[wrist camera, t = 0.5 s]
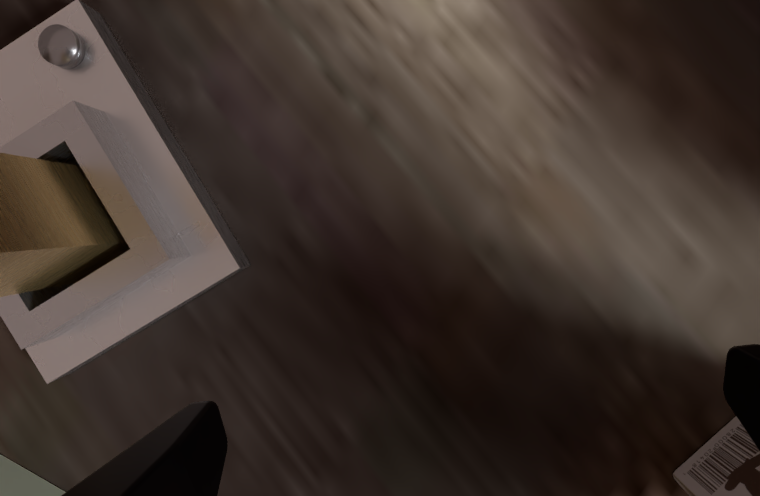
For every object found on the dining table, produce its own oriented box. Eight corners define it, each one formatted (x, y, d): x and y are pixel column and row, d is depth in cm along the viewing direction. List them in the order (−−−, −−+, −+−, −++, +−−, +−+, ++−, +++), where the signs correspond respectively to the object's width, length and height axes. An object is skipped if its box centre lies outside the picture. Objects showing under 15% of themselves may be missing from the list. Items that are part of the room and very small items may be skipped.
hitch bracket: (250, 264, 22) (222, 273, 19) (70, 373, 23) (10, 400, 19) (99, 13, 22) (42, -26, 18) (-79, 131, 23) (-167, 115, 19)
